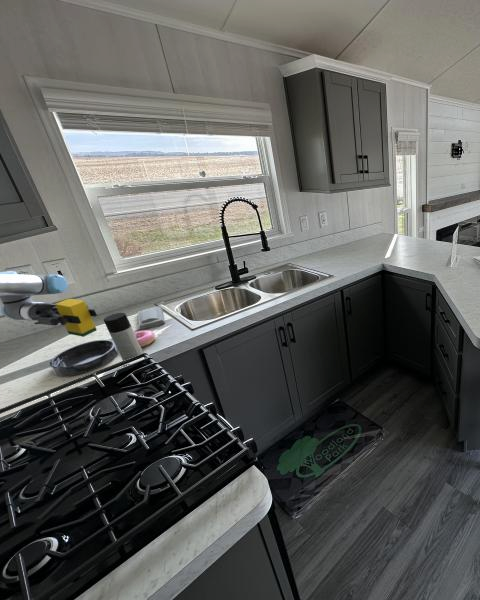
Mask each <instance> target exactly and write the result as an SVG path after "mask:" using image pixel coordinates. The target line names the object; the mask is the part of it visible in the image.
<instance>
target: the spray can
mask: <svg viewBox="0 0 480 600" xmlns="http://www.w3.org/2000/svg"><path fill="white" fill-rule="evenodd" d="M103 322H104V324H105V326H106V329H107V331H108V333H109V335H110V338H111V339H112V341H113V342H114V343H115V345H116V347H117V349H118V354H119V356H120V358H121V360H122V362H123V361H124V360H127V359H129V358H132V357H135V356H137V355H140V354H143V353H144V351H143V348H142V347H141V346H140V344H139V342H138V340H137V338H136V335H135V331H134V329H133V326H132V324H131V322H130V320H129V317H128V315H127V314H126V313H125V312H116V313H113V314H112V313H111V314H110V315H108V316H106V317H104V318H103Z"/></svg>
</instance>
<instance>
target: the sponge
mask: <svg viewBox="0 0 480 600" xmlns="http://www.w3.org/2000/svg"><path fill="white" fill-rule="evenodd" d="M54 305H56V307H57V310H58V312H59V314H60V316H62V317H63V316H64V315H68V316H78V317H79V319H80V321H81V323H80V324H77V323H66V324H65V325H64V327H65V328H66V331H67V333H68V335H73V336H76V337H82V338H84V337H86V336H88V335H90V334H93V333H94V332H96V331H97V327H96V325H95V322H94V320H93V317H92V316H91V315H90V313H89V310H88V308H89V307H88V308H87V306H88V305H87V304H86V301H85V300H81V299H75V298H67V299H64V300H61V301H60V302H57V303H55V304H54ZM86 305H87V306H86Z"/></svg>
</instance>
